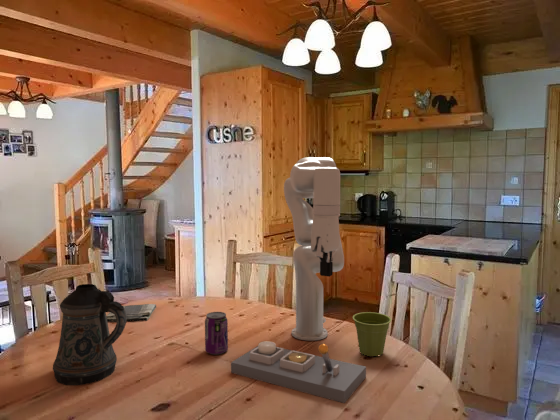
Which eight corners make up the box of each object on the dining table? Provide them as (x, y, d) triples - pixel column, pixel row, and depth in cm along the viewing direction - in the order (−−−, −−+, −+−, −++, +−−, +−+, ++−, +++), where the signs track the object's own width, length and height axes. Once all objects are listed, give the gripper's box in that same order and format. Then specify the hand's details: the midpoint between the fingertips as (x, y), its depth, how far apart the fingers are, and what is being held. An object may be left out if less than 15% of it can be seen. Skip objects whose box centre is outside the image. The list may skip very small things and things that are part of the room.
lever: (327, 365, 118) (319, 340, 113) (336, 367, 117) (328, 342, 111) (324, 373, 116) (315, 348, 111) (333, 375, 115) (325, 350, 110)
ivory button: (264, 346, 130) (264, 340, 130) (278, 349, 127) (278, 343, 127) (255, 352, 126) (255, 345, 125) (269, 355, 123) (269, 349, 123)
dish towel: (113, 309, 185) (113, 302, 185) (157, 308, 187) (156, 301, 187) (100, 324, 166) (100, 316, 166) (148, 322, 168) (148, 314, 168)
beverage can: (223, 357, 134) (223, 318, 133) (201, 355, 136) (201, 317, 135) (230, 348, 141) (230, 311, 140) (210, 346, 143) (209, 310, 142)
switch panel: (261, 353, 137) (261, 337, 137) (365, 377, 120) (366, 359, 120) (231, 372, 123) (230, 355, 123) (344, 403, 106) (344, 383, 106)
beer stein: (57, 365, 129) (53, 281, 127) (126, 355, 136) (124, 276, 134) (49, 390, 113) (45, 295, 111) (128, 378, 120) (125, 288, 118)
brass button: (293, 357, 125) (294, 351, 125) (309, 361, 123) (309, 354, 122) (285, 364, 121) (285, 357, 121) (301, 368, 118) (301, 361, 118)
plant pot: (344, 353, 137) (345, 318, 136) (365, 343, 145) (365, 309, 145) (378, 364, 129) (378, 327, 128) (397, 352, 137) (398, 317, 137)
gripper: (325, 209, 131) (324, 269, 133) (302, 212, 118) (302, 279, 120) (348, 210, 128) (348, 272, 129) (328, 213, 115) (327, 282, 116)
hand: (326, 275), depth 124 cm, fingers closed
